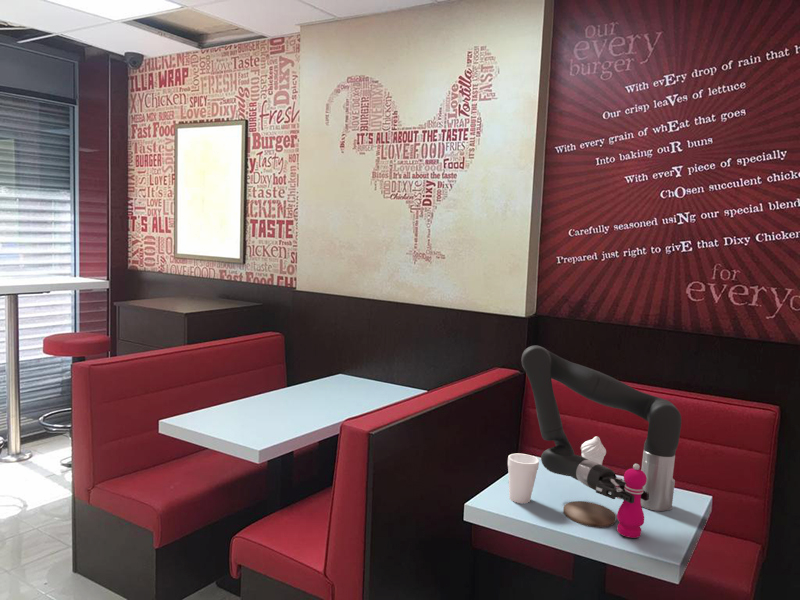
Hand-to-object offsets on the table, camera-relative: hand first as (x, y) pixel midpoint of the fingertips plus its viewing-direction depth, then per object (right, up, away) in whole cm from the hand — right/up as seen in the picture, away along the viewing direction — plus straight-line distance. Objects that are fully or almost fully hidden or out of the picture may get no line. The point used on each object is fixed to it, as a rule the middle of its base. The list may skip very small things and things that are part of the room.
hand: (640, 498), depth 185 cm
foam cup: (-29, -7, +23) cm, 38 cm away
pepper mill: (-2, -11, +4) cm, 11 cm away
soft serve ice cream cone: (-2, -7, +43) cm, 44 cm away
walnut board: (-10, -9, +15) cm, 20 cm away
